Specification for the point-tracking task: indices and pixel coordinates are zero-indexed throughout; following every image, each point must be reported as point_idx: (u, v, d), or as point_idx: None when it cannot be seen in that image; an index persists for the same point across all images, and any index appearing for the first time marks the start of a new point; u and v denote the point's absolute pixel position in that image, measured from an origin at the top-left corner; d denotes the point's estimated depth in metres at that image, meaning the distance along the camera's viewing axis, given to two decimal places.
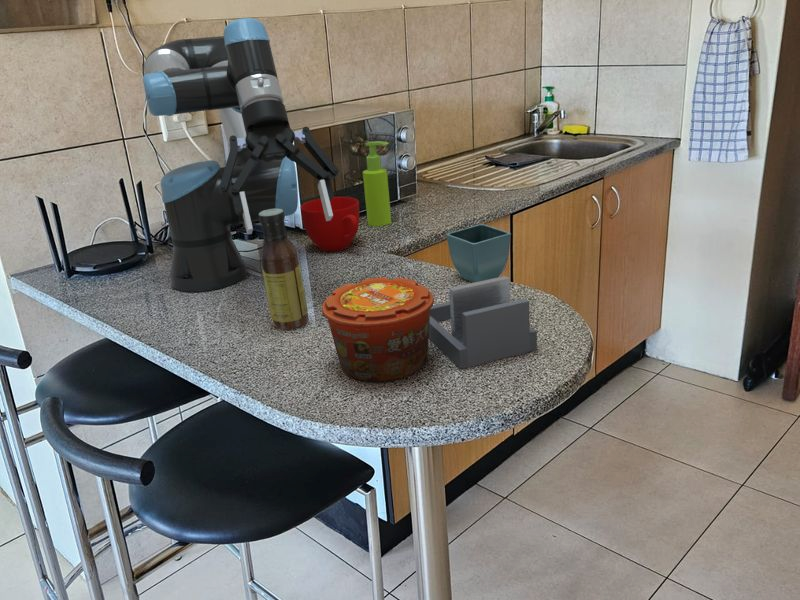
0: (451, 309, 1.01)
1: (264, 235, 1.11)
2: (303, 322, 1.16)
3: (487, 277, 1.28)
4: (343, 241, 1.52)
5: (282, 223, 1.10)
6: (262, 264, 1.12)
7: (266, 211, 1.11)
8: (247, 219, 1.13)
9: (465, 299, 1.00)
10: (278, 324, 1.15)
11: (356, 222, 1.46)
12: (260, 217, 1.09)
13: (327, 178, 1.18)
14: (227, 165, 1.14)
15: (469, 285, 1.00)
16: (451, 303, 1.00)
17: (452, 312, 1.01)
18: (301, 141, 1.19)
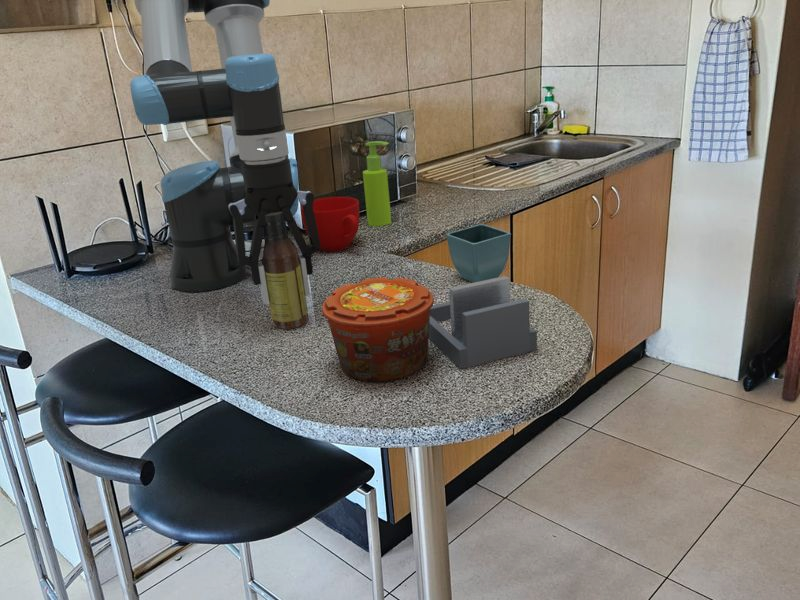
0: (451, 309, 1.01)
1: (265, 234, 1.11)
2: (303, 322, 1.16)
3: (487, 277, 1.28)
4: (343, 241, 1.52)
5: (283, 223, 1.10)
6: (263, 263, 1.12)
7: None
8: (264, 295, 1.13)
9: (465, 299, 1.00)
10: (278, 324, 1.15)
11: (356, 222, 1.46)
12: None
13: (307, 257, 1.14)
14: (238, 239, 1.09)
15: (469, 285, 1.00)
16: (451, 303, 1.00)
17: (452, 312, 1.01)
18: None
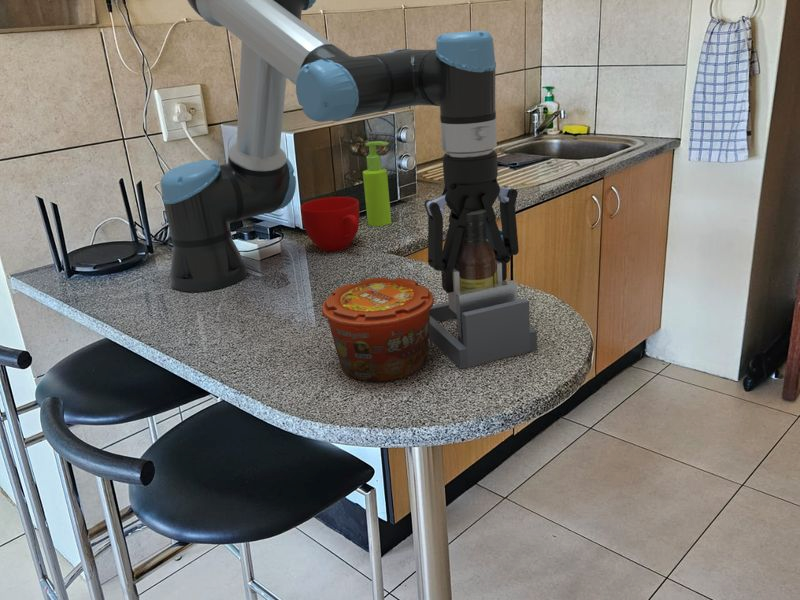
0: (457, 314, 0.99)
1: (463, 236, 0.98)
2: None
3: None
4: (343, 241, 1.52)
5: (485, 223, 0.98)
6: (458, 268, 1.00)
7: None
8: None
9: (472, 304, 0.98)
10: None
11: (356, 222, 1.46)
12: None
13: (503, 261, 1.01)
14: (436, 241, 0.97)
15: (476, 290, 0.98)
16: (457, 308, 0.99)
17: (458, 317, 0.99)
18: (500, 200, 0.99)
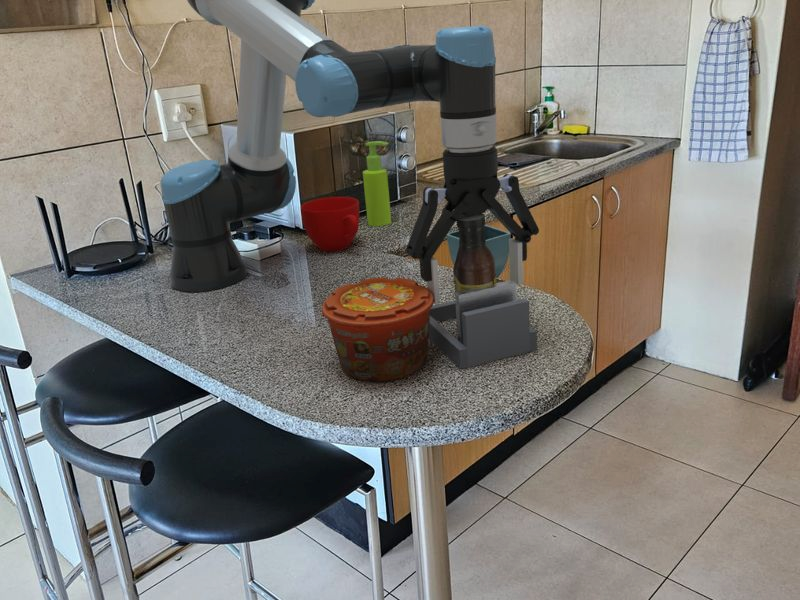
0: (457, 314, 0.99)
1: (462, 242, 0.99)
2: None
3: None
4: (343, 241, 1.52)
5: (483, 228, 0.98)
6: (457, 274, 1.00)
7: None
8: (435, 292, 0.99)
9: (471, 304, 0.98)
10: None
11: (356, 222, 1.46)
12: (460, 222, 0.98)
13: (525, 241, 1.02)
14: (423, 228, 0.95)
15: (475, 289, 0.99)
16: (457, 308, 0.99)
17: (458, 317, 0.99)
18: None
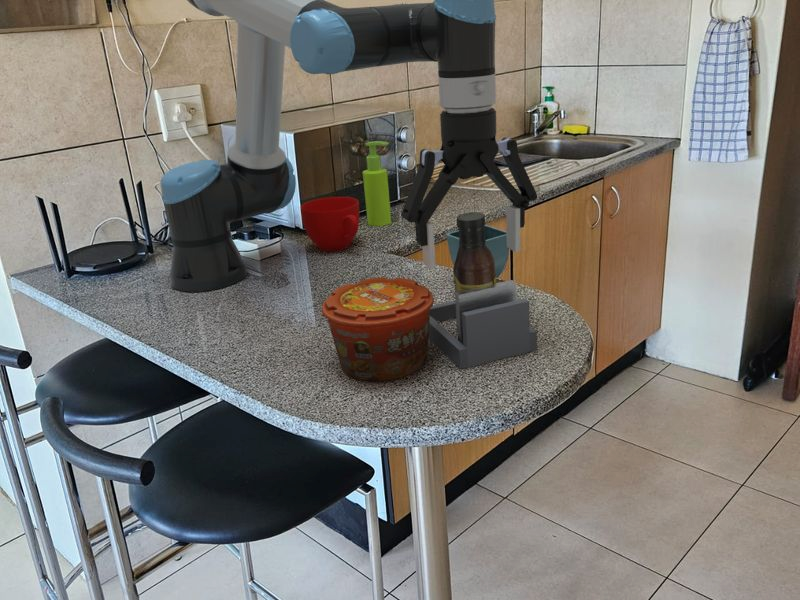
0: (457, 314, 0.99)
1: (462, 242, 0.99)
2: None
3: None
4: (343, 241, 1.52)
5: (483, 228, 0.98)
6: (457, 274, 1.00)
7: (464, 215, 0.99)
8: (431, 257, 0.97)
9: (471, 304, 0.98)
10: None
11: (356, 222, 1.46)
12: (460, 222, 0.98)
13: (523, 207, 1.00)
14: (419, 191, 0.93)
15: (475, 289, 0.99)
16: (457, 308, 0.99)
17: (458, 317, 0.99)
18: (502, 154, 0.97)
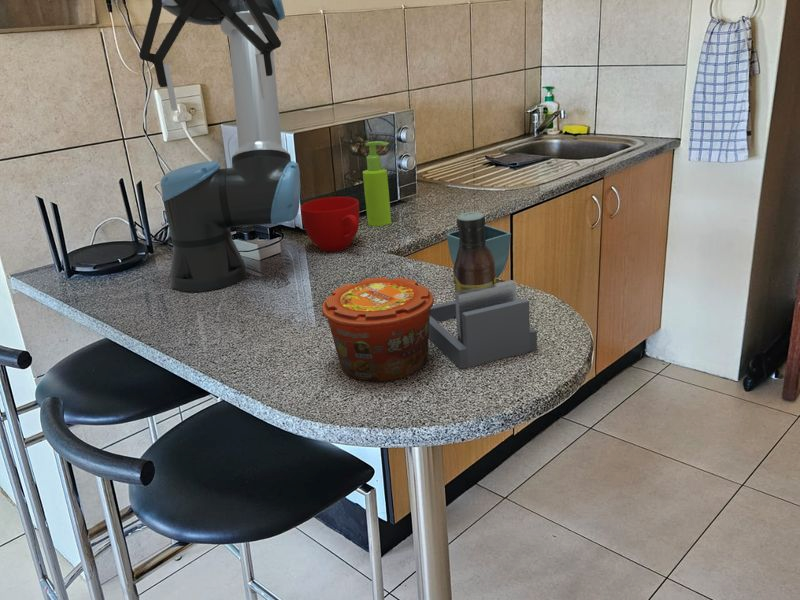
0: (457, 314, 0.99)
1: (462, 242, 0.99)
2: None
3: None
4: (343, 241, 1.52)
5: (483, 228, 0.98)
6: (457, 274, 1.00)
7: (464, 215, 0.99)
8: (171, 99, 1.01)
9: (471, 304, 0.98)
10: None
11: (356, 222, 1.46)
12: (460, 222, 0.98)
13: (266, 53, 1.03)
14: (149, 28, 0.97)
15: (475, 289, 0.99)
16: (457, 308, 0.99)
17: (458, 317, 0.99)
18: None
